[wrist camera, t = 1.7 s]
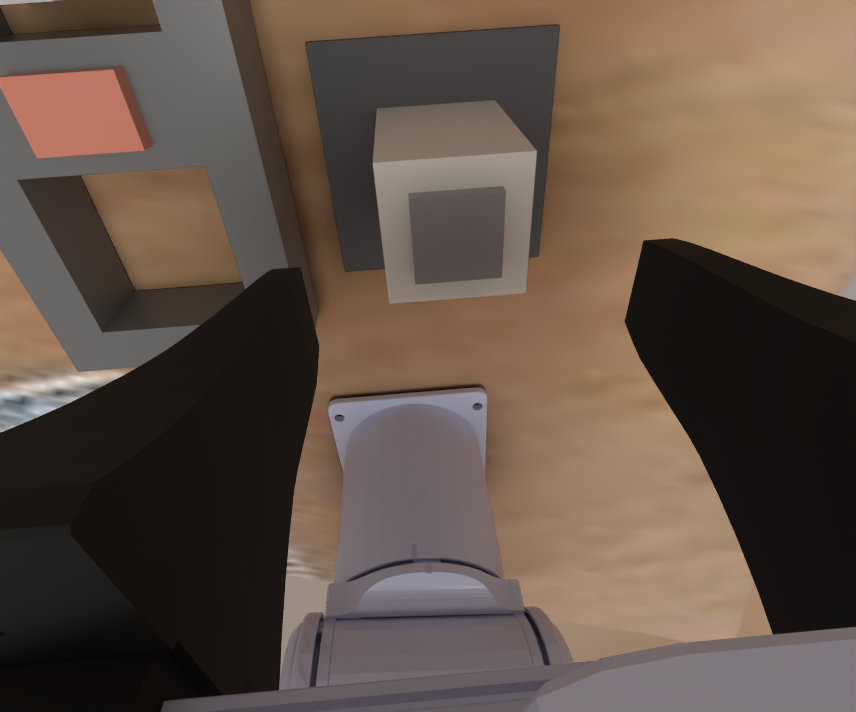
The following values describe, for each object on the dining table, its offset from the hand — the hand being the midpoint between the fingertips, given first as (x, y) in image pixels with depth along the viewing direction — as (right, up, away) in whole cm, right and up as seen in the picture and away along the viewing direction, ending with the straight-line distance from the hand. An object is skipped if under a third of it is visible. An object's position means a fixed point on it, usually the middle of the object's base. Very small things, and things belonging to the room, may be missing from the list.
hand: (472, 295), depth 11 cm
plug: (-1, +6, +7) cm, 9 cm away
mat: (-1, +6, +8) cm, 10 cm away
